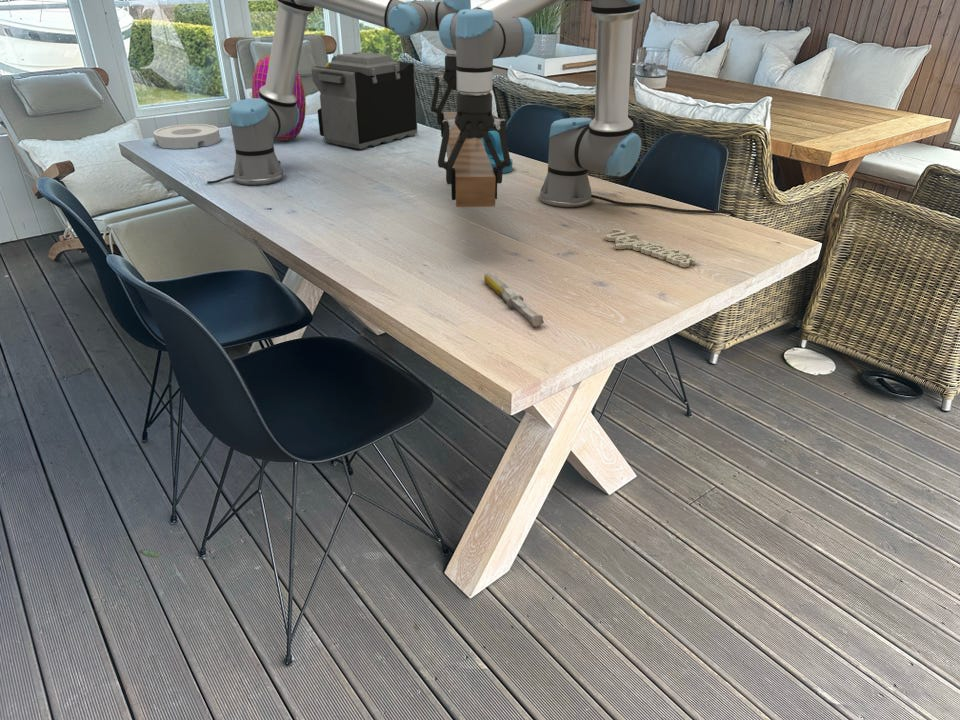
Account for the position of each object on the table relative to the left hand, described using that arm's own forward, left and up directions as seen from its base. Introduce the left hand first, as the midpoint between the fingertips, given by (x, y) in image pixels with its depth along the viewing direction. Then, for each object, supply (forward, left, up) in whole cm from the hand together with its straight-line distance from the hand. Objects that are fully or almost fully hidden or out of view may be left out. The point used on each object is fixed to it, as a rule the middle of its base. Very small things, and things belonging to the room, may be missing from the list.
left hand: (457, 135), depth 208 cm
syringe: (-3, -86, -15) cm, 88 cm away
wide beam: (-3, -31, -1) cm, 31 cm away
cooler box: (-24, +66, -15) cm, 72 cm away
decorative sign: (+36, -63, -15) cm, 74 cm away
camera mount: (+14, +19, -15) cm, 28 cm away
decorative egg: (-57, +69, -15) cm, 91 cm away
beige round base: (-92, +71, -15) cm, 118 cm away
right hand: (-6, -61, 0) cm, 62 cm away
